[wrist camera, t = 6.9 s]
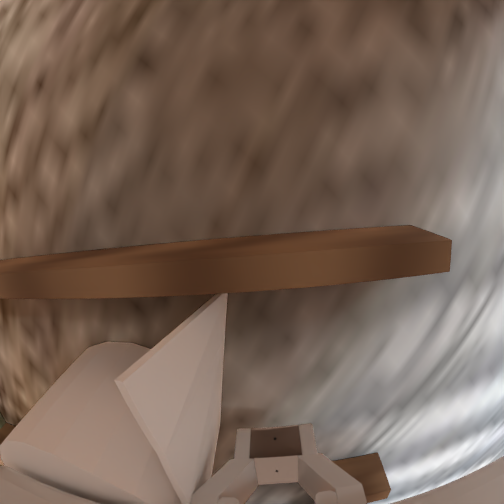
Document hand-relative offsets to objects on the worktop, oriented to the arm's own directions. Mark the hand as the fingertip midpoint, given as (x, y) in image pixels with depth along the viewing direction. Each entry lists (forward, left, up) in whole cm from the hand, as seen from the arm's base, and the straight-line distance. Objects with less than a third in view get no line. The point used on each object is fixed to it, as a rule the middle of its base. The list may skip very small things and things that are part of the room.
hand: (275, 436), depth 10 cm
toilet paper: (+5, 0, -3) cm, 6 cm away
